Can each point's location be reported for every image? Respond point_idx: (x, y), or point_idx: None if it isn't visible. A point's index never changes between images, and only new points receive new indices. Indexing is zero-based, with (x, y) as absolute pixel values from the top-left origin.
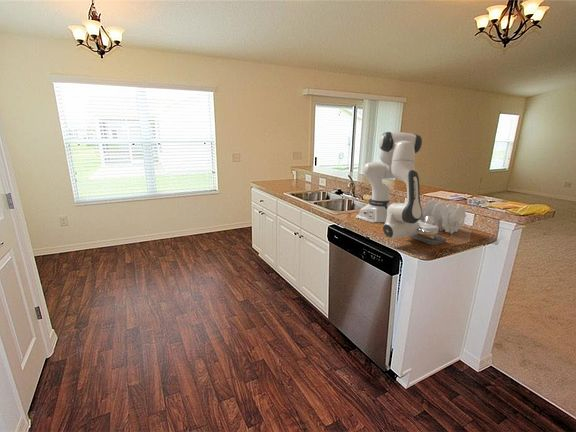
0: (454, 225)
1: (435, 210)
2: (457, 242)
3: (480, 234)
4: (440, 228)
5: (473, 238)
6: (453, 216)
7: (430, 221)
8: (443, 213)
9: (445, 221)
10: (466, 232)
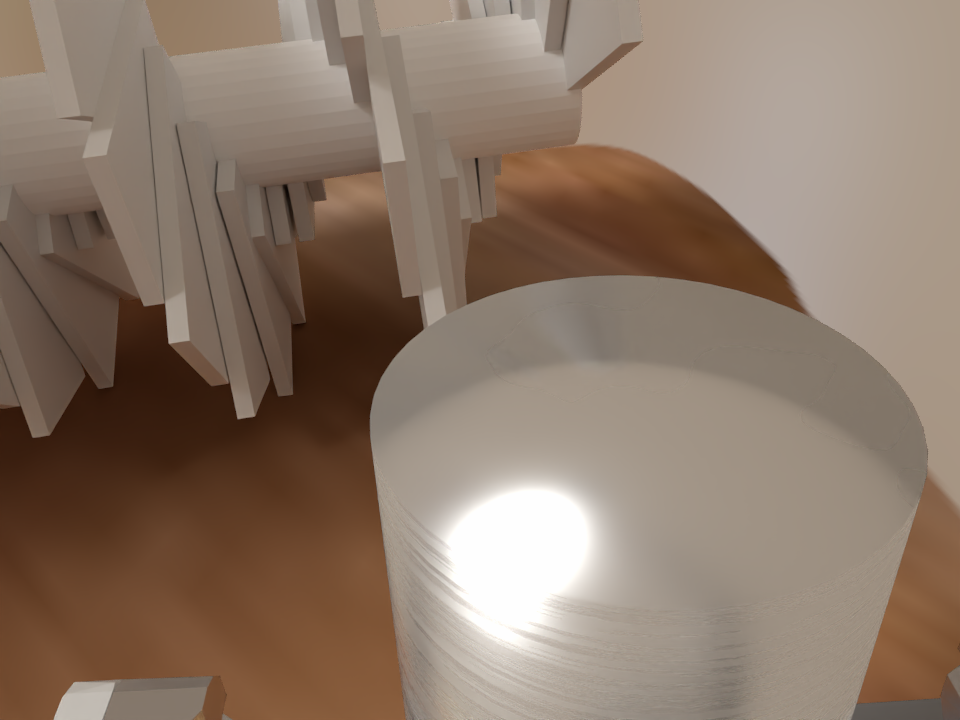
0: (479, 209)
1: (76, 24)
2: (915, 537)
3: (610, 186)
4: (279, 355)
5: (731, 284)
6: (637, 29)
7: (861, 684)
8: (352, 34)
9: (427, 210)
10: (498, 227)
